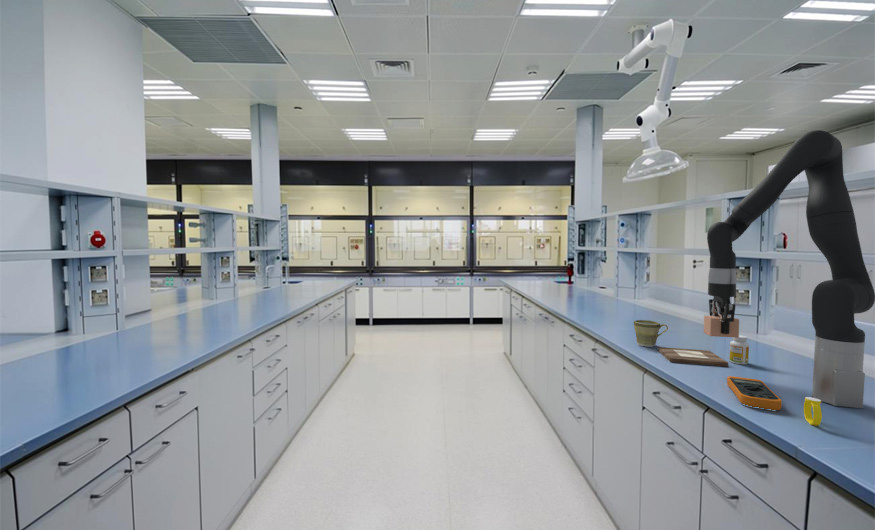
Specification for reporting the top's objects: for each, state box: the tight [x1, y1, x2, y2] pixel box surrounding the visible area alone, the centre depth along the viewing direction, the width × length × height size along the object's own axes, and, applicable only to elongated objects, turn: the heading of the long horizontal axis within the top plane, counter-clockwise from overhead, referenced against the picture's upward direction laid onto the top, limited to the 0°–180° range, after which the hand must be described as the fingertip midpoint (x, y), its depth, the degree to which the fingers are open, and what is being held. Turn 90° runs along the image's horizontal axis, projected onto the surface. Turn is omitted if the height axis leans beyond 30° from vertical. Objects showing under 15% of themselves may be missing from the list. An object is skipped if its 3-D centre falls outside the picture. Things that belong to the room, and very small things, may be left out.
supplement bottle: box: [729, 334, 750, 365], centre depth 138 cm, size 5×5×10 cm
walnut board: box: [657, 346, 729, 368], centre depth 143 cm, size 16×18×2 cm
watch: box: [803, 396, 823, 427], centre depth 90 cm, size 6×3×6 cm, turn 153°
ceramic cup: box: [633, 319, 669, 348], centre depth 161 cm, size 13×10×10 cm
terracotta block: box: [703, 315, 740, 338], centre depth 127 cm, size 6×8×6 cm
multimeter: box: [726, 375, 783, 411], centre depth 106 cm, size 9×18×3 cm, turn 154°
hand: (720, 331), depth 127 cm, fingers closed on terracotta block, 5 cm apart
